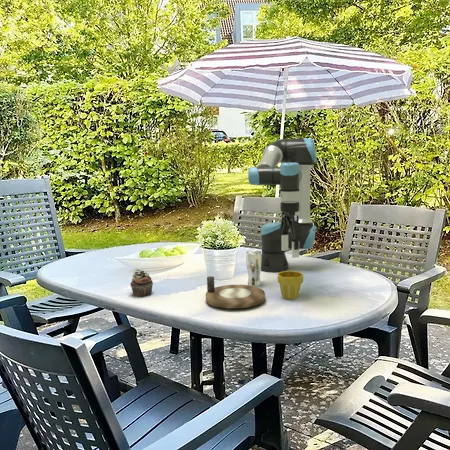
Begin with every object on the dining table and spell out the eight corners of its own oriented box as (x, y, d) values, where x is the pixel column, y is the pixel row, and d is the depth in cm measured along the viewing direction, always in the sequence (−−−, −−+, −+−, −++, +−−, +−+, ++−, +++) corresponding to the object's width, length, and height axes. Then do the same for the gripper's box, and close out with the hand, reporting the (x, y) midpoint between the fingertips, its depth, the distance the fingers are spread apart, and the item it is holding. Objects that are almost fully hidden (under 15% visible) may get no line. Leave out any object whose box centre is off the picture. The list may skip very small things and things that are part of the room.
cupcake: (158, 293, 206) (156, 271, 204) (139, 299, 199) (138, 275, 198) (144, 289, 213) (143, 267, 211) (126, 294, 206) (125, 272, 204)
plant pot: (302, 301, 190) (302, 277, 189) (276, 300, 192) (276, 277, 191) (303, 293, 200) (303, 270, 199) (279, 292, 202) (278, 270, 201)
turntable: (256, 287, 207) (256, 269, 206) (272, 305, 184) (271, 285, 182) (201, 291, 203) (201, 273, 201) (210, 310, 179) (210, 290, 178)
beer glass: (244, 283, 217) (243, 251, 214) (257, 281, 220) (257, 249, 217) (250, 287, 211) (250, 254, 208) (264, 285, 213) (264, 252, 211)
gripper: (272, 198, 201) (272, 248, 205) (290, 205, 177) (291, 261, 180) (289, 198, 202) (289, 247, 206) (310, 204, 178) (309, 259, 182)
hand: (290, 253), depth 193 cm, fingers open, 13 cm apart
